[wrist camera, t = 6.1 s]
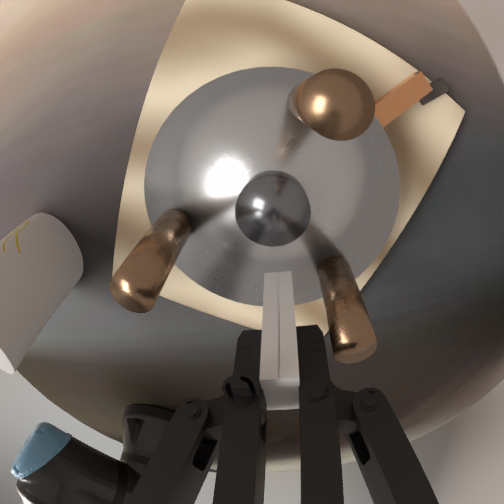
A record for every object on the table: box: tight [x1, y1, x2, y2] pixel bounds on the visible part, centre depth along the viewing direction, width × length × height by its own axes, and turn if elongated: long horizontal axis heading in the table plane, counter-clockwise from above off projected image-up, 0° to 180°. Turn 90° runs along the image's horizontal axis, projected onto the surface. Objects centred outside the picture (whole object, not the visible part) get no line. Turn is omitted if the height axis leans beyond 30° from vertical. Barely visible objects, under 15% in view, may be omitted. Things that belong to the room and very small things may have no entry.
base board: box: [112, 0, 465, 336], centre depth 16 cm, size 23×18×2 cm
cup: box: [0, 213, 83, 374], centre depth 16 cm, size 8×8×12 cm
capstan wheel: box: [109, 67, 433, 363], centre depth 11 cm, size 14×18×8 cm
